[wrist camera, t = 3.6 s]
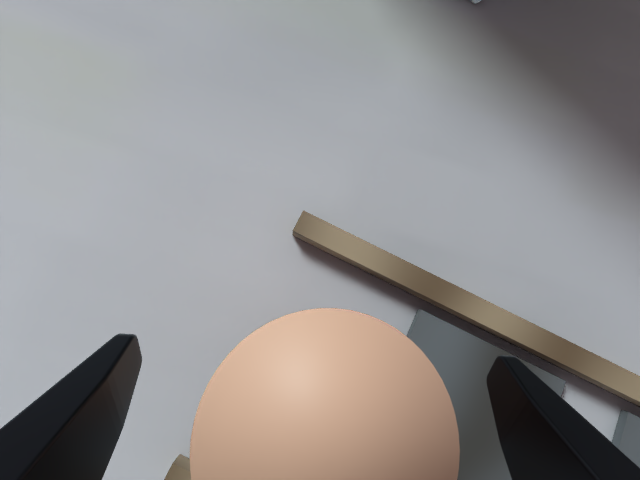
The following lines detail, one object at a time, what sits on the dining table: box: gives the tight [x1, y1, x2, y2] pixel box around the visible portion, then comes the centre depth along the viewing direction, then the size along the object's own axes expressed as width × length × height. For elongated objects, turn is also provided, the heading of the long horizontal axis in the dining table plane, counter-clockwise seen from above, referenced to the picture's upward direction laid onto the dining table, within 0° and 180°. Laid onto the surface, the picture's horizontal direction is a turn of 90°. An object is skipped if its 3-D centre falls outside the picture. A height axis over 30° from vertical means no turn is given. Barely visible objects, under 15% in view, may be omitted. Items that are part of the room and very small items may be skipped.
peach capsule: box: [190, 308, 460, 480], centre depth 12 cm, size 5×5×10 cm
